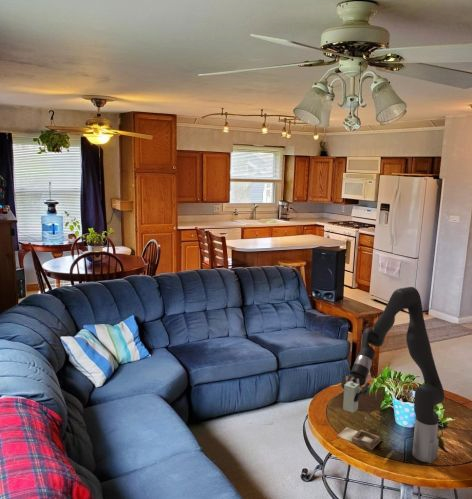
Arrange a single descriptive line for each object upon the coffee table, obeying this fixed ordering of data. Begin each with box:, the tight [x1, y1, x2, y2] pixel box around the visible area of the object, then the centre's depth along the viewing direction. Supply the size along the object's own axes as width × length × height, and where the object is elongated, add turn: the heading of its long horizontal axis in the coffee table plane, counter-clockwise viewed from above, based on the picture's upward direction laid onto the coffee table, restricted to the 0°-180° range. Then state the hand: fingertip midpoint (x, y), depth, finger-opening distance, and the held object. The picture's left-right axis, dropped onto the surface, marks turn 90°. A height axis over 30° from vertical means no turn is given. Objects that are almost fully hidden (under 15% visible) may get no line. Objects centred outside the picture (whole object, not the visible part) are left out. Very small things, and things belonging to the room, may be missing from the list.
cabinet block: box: [342, 381, 359, 413], centre depth 210 cm, size 5×5×13 cm
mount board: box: [337, 426, 381, 451], centre depth 209 cm, size 17×10×3 cm, turn 50°
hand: (349, 399), depth 208 cm, fingers closed on cabinet block, 5 cm apart
